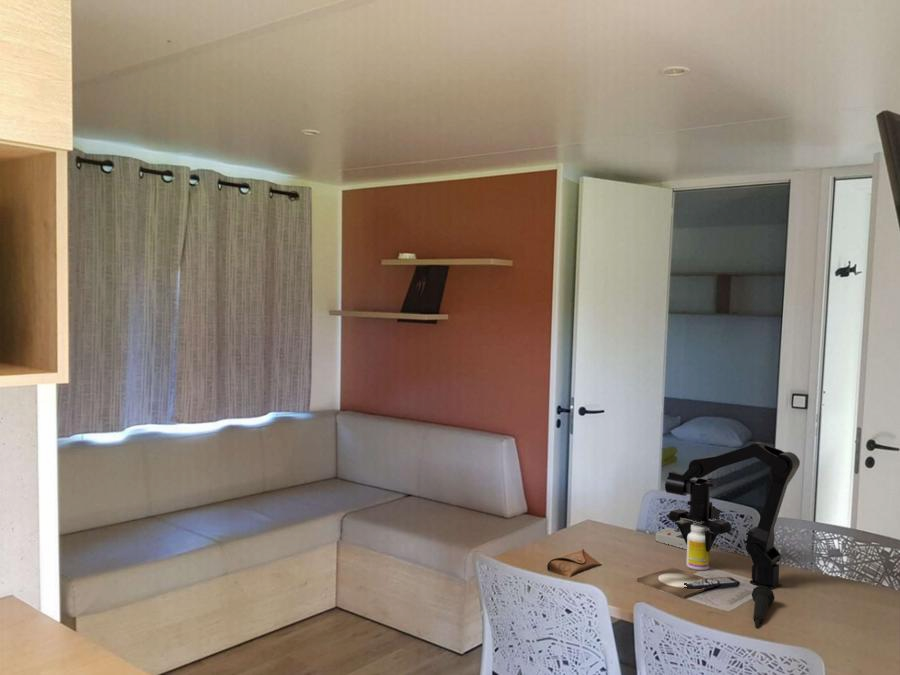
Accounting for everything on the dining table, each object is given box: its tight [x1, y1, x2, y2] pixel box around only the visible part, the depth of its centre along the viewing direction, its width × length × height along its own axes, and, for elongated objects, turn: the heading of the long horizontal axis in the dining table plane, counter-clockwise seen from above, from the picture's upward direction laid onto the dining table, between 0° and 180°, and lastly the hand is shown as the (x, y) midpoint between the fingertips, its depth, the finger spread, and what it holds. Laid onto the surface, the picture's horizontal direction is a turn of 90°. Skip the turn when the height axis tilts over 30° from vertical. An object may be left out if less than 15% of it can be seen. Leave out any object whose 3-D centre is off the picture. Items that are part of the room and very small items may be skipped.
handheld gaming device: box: [655, 527, 687, 550], centre depth 252 cm, size 9×15×4 cm, turn 42°
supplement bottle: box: [685, 523, 710, 571], centre depth 228 cm, size 7×7×13 cm
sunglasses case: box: [546, 548, 603, 578], centre depth 226 cm, size 18×7×7 cm
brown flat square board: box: [636, 566, 707, 599], centre depth 214 cm, size 16×17×1 cm
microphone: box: [751, 585, 775, 629], centre depth 193 cm, size 6×6×20 cm
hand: (698, 548), depth 228 cm, fingers closed on supplement bottle, 7 cm apart
